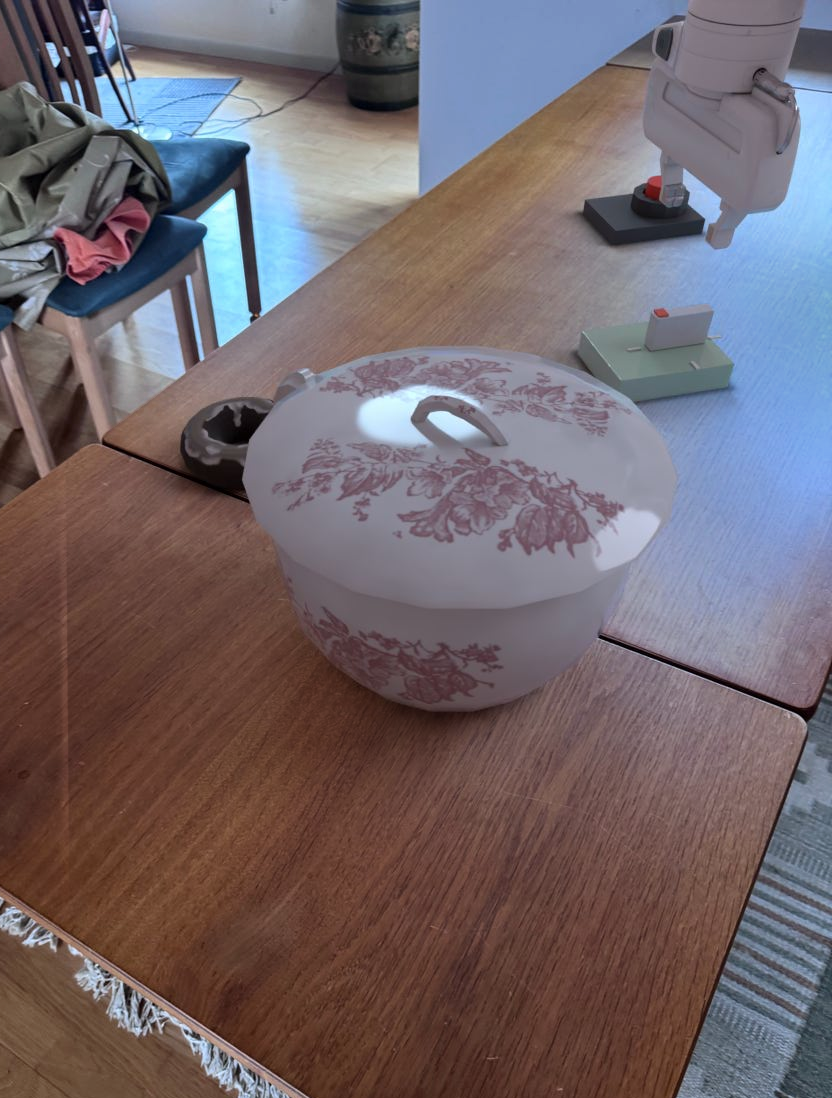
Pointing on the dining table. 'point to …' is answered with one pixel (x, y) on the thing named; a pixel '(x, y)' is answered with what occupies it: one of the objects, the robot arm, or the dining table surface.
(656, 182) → the red button
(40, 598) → the dining table surface
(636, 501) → the chamber pot
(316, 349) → the dining table surface
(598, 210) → the button block
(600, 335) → the tap panel
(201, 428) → the donut
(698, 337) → the grey rectangular block
